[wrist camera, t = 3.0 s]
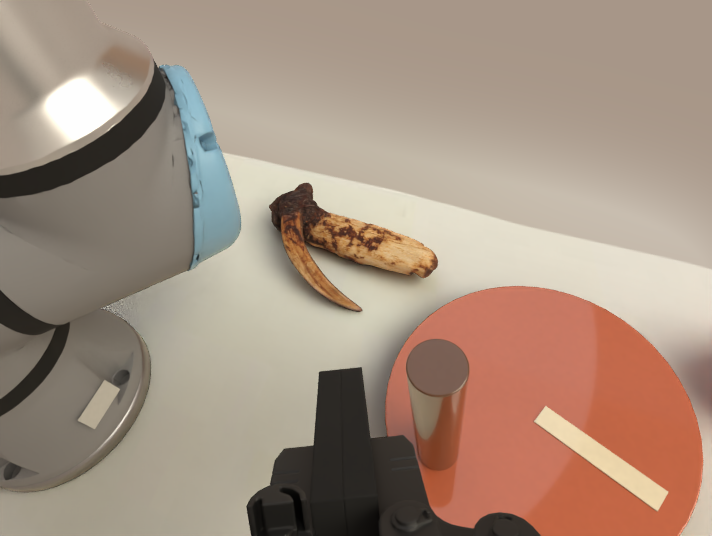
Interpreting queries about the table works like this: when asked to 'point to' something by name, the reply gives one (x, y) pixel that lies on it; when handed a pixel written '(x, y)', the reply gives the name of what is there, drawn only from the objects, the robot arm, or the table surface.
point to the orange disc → (546, 417)
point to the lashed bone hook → (342, 243)
